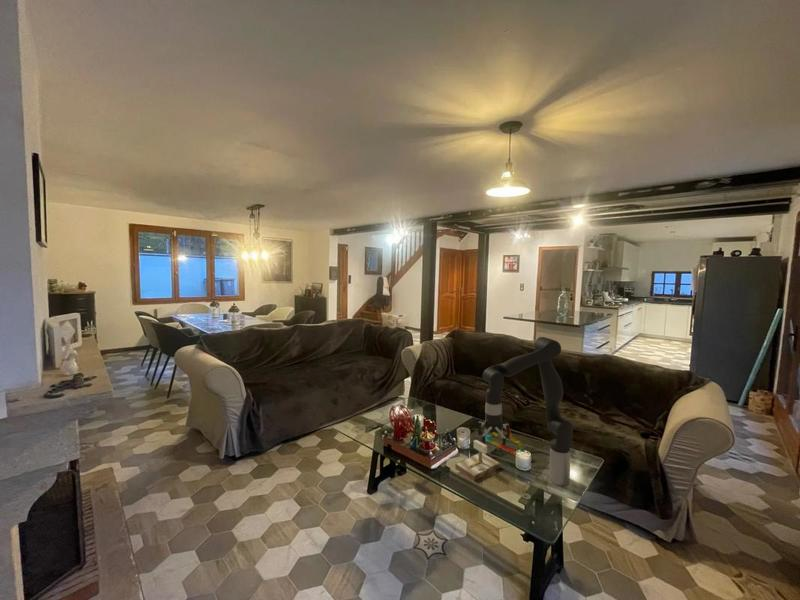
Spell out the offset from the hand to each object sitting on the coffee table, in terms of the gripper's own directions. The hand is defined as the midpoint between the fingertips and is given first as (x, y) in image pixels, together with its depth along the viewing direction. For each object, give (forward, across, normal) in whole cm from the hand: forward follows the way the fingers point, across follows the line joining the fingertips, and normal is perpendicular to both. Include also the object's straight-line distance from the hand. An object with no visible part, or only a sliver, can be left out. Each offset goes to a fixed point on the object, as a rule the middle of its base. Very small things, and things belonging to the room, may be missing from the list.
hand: (493, 443), depth 165 cm
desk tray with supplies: (+27, +9, -21) cm, 35 cm away
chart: (+27, -5, -44) cm, 52 cm away
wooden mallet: (+24, +10, -20) cm, 33 cm away
